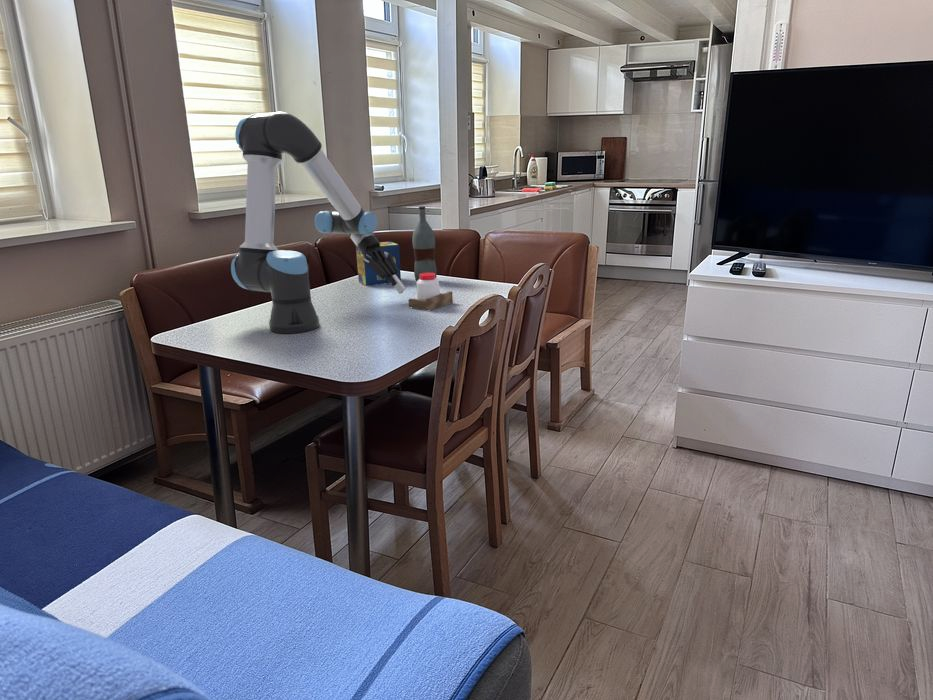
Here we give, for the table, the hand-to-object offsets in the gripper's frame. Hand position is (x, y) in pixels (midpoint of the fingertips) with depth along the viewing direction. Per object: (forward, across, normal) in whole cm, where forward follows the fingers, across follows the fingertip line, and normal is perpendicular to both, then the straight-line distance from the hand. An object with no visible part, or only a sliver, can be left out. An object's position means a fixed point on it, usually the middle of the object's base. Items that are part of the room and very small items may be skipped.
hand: (402, 291), depth 233 cm
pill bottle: (+11, 0, +6) cm, 13 cm away
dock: (+11, 0, +5) cm, 12 cm away
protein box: (-21, -23, -27) cm, 41 cm away
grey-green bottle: (-8, -31, -14) cm, 36 cm away
